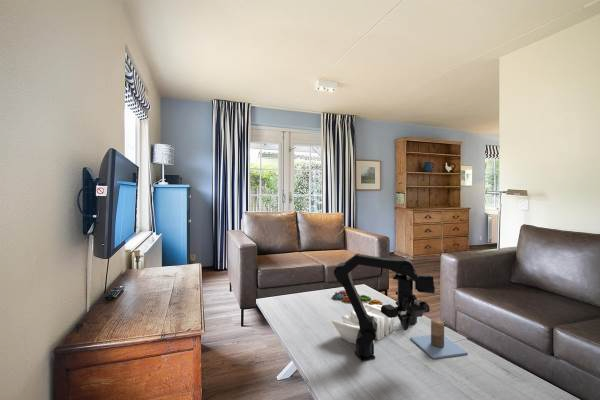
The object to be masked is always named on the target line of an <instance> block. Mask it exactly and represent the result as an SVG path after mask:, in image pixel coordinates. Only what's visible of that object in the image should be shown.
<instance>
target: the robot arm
mask: <svg viewBox="0 0 600 400" xmlns="http://www.w3.org/2000/svg"><path fill="white" fill-rule="evenodd" d="M358 266H365V267H372V268H378V269H384V270H385V269H386V270H388V271H391V272H393V273H394V274H393V275H392V279H393V280H395V281H396V280H397V291H395V295H397V301H395V305H396V306H393V305H392V304H382V307H381V312H382V313H383V314H384V315H386V316H387V317H389V318H393V317H395V318H398V319H399V321H400V324H401V327H402V329H403V331H404V332H405V331H408V329H409V326H410V325H411V324H410V321H411V319H412V318H416V317H417V318H418V317H421V318H422V317H423V316H424V314H425V313H430V310H431V309H430V307H431V306H430V305H429V304H428V303H427V302H426V301H423V300H421V299H419V300H418V299H417V301H416V298H417V297H416V294H415V293H414V294H413V281H414V290H416V291H417V293H421V294H423V293H424V294H430V295H431V294H433V295H435V291H436V290H435V288H436V286H435V282H434V275H433V274H418V271H416V269H415V268H414V266H413V262H412V260H411V259H410V258H408V257H393V258H389V257H388V258H387V257H381V256H380V257H379V256H374V255H367V254H361V253H355V254H354V255H353V256H352V257H350V258H349V259H347V260H346V261H345V262H339V263H338V264H337V266H336V267H335V268H334V271H333V275H334V278H335V279H336V280H337V282H338V283H339V284H340V285H341V287H343V290H345V291H346V293H347V296H348V298H349V300H350V302H351V306H352V308H353V311H355V313H356V315H357V318H358V321H359V327H360V329H359V331H358V334H357V338H356V344H355V350H354V351H353V352H354V355H355V356H356V357H357V358H358V359H359V360H360V361H361V362H363V361H368V360H374V359H376V356H375V343H374V344H373V341H375V340H376V339H375V338H376V333H377V323H376V322H375V320H374V316H372V317H370V316H369V315H368V314H367V312H366V310H365V308H364V306H363V304H362V301H361V299H360V297H359V295H360V294H359V293H358V290H357V288H356V286H355V284H354V282H353V276H352V275H353V274H352V271H353V270H354V269H355V268H357V267H358ZM358 294H359V295H358Z"/></svg>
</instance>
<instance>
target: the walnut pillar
mask: <svg viewBox="0 0 600 400" xmlns="http://www.w3.org/2000/svg"><path fill="white" fill-rule="evenodd" d="M430 335H431V344H432V345H433V346H435V347H439V348H442V347H444V336H445V321H443V320H442V319H437V318H433V319H430Z"/></svg>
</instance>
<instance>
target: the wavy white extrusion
mask: <svg viewBox="0 0 600 400" xmlns="http://www.w3.org/2000/svg"><path fill="white" fill-rule="evenodd" d="M382 305H383V304H382ZM382 305H371V304H369V303H363V306H364V308H365V310H366V312H367V314H368V315H369V316H370V317H372V316H374V320H375V322H376V323H377V333H376V338H375V340H377V341H381V340H382V339H384V338H385V336H386V337H387V336H389V334H390V335H391V334H392V333H393V332H394V325H395V318H396V317H393V318H389V317H387V316H386V315H384V314H383V313H382V312H381V307H382ZM341 319H342V321H343V322H342V321H340V320H338V319H334V320H332V321H331V323H332V324H333V325H334V327H335V329H336V331H337V332H338V334H339V336H340V337H341V339H343V340H344V341H346V342H348V343H351V344H354V345H356V338H357V334H358V331H359V329H360V327H359V321H358V318H357V315H356V313H355V311H354V310H351V311H350V316H349V315H347V314H345V315H342V316H341ZM375 340H374V341H373V344H374V345H375V344H376V343H375Z"/></svg>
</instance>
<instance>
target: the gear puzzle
mask: <svg viewBox="0 0 600 400" xmlns="http://www.w3.org/2000/svg"><path fill="white" fill-rule="evenodd" d="M358 295H359V297H360V299H361V301H362V304H363V303H366V304H369V305H383V302H382V301H380V300H379V299H372V298H371V297H370V296H368V295H365V294H361V295H360V294H359V293H358ZM331 300H333V301H336V302H338V301H339V302H342V303H343V304H351V302H350V300H349V298H348V296H347V293H346V291H345V289H342V290H339V291H338V292H337V291H335V292H334V294H333V295H332V297H331ZM351 305H352V304H351Z"/></svg>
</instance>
